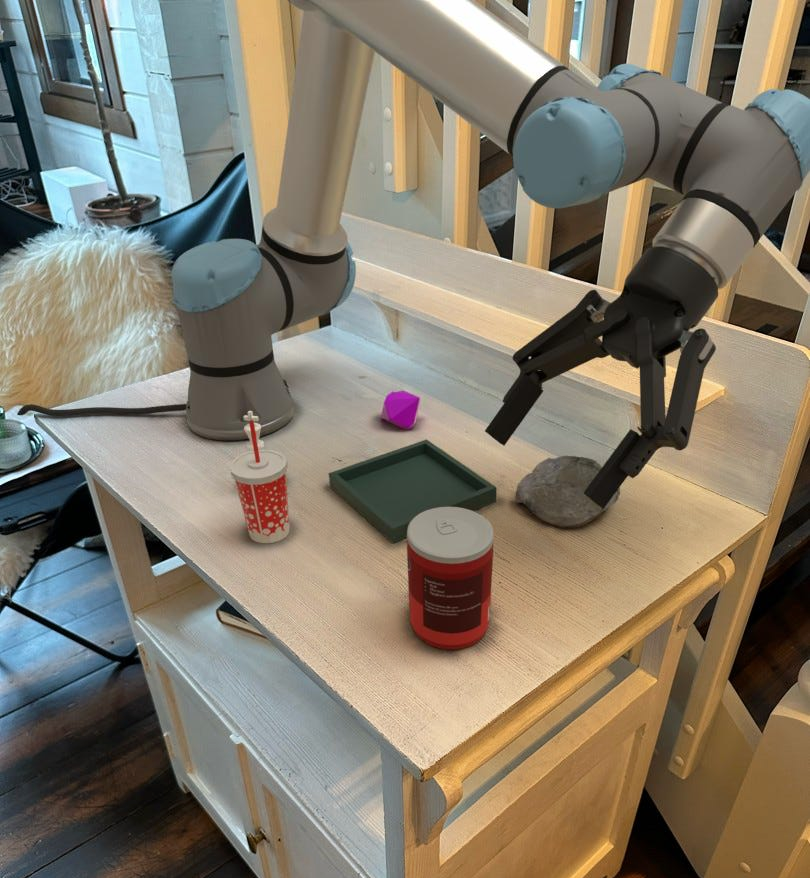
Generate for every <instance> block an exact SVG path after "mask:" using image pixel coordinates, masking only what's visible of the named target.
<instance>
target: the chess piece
mask: <svg viewBox="0 0 810 878" xmlns="http://www.w3.org/2000/svg"><path fill="white" fill-rule="evenodd" d="M244 420H247V421H250V420H253V421H258V420H259V418H258V416H253V411H248V416H247V415H245V416H244ZM254 426H255V432H256V438H257V445H258V450H261V449H262V448H264V447H265V443H264V441H263V440H262V439H260V437H261V436H260V431H261V425H260V424H258V423H254ZM244 430H245V432H246V434H247V435H248V438H249V439H248V440H249V441H247V442H246V448H247V450H250V451H254V448H253V442H252V436H251V430H250V424H247V425H246V426H245V427H244Z"/></svg>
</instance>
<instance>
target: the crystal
mask: <svg viewBox="0 0 810 878" xmlns="http://www.w3.org/2000/svg"><path fill="white" fill-rule="evenodd" d="M420 401H421V397H420V396H418V395H415V394H413V393H410V392H408V391H406V390H399V391H394V390H393V391H391V392H390V393H388V394H387V395H386V396H385V398H384V401H383V405H382V411H381V415H380V418H381V419H382V420H384V421H386V422H388V423H390V424H392V425H395V426H396V427H399V428H400V429H403V430H405V431H408V430H411V429H412V428H413V427H414V426H415V424H416V423H417V420H418V415H419V406H420Z"/></svg>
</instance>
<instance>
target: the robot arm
mask: <svg viewBox="0 0 810 878" xmlns="http://www.w3.org/2000/svg"><path fill="white" fill-rule="evenodd" d="M287 1H288V2H289V3H290V4H292V5H293V6H295V7H296V8H297V9H299V10H301V11H303V12H302V18H301V27H300V33H299V41H298V48H297V55H296V63H295V71H294V76H293V77H294V78H293V85H292V93H291V99H290V106H289V113H288V114H289V115H288V120H287V121H288V122H287V128H286V135H285V142H284V143H285V144H284V150H283V156H282V157H283V158H282V165H281V172H280V179H279V187H278V193H277V194H278V195H277V202H276V207H274V208H273V209H271V210H269V211H268V212H267V213H265V215H264V217H263V220H262V227H261V235H260V236H261V237H260V240H259V243H258V244H256V243H254V241H253V242H252V241H251V240H248V239H244V238H224V239H221V240H219V241H213V240H212V241H209V242H205V243H202V244H199V245H197V246H194V247H192V248H190V249H189V250H186V251H185V252H184V253H182V254H181V255H179V257H178V258H177V259H176V260H175V262H174V263H173V265H172V269H171V282H172V289H173V295H172V297H173V301H174V304H175V305H176V308H177V313H178V318H179V323H180V329H181V333H182V337H183V343H184V347H185V352H186V356H187V360H188V361H187V362H188V365H189V373H190V374H189V380H188V389H187V390H188V391H187V401H186V403H179V404H178V403H177V404H167V405H156V406H148V407H147V406H146V407H112V406H111V407H109V406H105V407H104V406H94V407H80V408H79V407H78V408H69V409H67V408H65V409H53V408H52V409H51V408H47V407H44V406H40V405H38V404H32V403H31V404H25V405H23V406H22V407H21V408H20V409H19V410H18V411H17V414H16V416H24V415H26V414H27V413H28V412H35V413H38V414H42V415H46V416H49V417H70V416H71V417H72V416H82V415H83V416H84V415H99V414H101V415H124V416H125V415H127V416H129V415H130V416H132V415H134V416H135V415H151V414H160V413H170V412H182V411H183V412H184V411H185V416H186V420H187V425H188V427H189V429H190V430H191V431H192V432H193V433H195V434H196V435H198V436H200V437H203V438H206V439H210V440H215V441H242V440H250V439H249V438H248V435H247V434H246V432H245V430H244V427H245V426H246V425H247V424H249V421H247V420H244V416H245V415H247V416H248V411H253V416H258V418H259V420H258V421H254V423H258V424H260V425H261V431H260V437H262V436H266V435H268V434H271V433H274V432H276V431H278V430H279V429H281V428H283V427H284V426H286V425H287V424H288V423H290V421H291V420H292V418H293V416H294V414H295V407H294V399H293V396H292V394H291V392H290V390H289V389H290V387H289V384H288V383H287V381H286V380H285V379H283V377H282V375H281V372H280V370H279V368H278V365H277V364H276V361H275V354H274V348H273V340H272V335H275V334H277V333H279V332H282V331H285V330H286V329H290V328H291V327H295V326H297V325H300V324H302V323H305V322H307V321H310V320H313V319H315V318H320V317H322V316H325V315H328V314H329V313H330V312H331V311H333V310H334V309H336V308H338V307H340V306H341V305H343V303H345V302H346V301H347V299H348V298H349V296H350V295H351V293H352V291H353V289H354V285H355V281H356V276H357V275H356V274H357V265H356V261H355V260H353V258H352V256H353V255H354V251H353V248H352V246H351V244H350V243H349V241H348V234H347V231H346V229H345V228H344V227H343V225H342V224H341V223H340V222H341V219H342V214H343V209H344V203H345V199H346V193H347V189H348V185H349V180H350V174H351V169H352V165H353V160H354V155H355V150H356V146H357V139H358V135H359V131H360V126H361V125H360V124H361V121H362V116H363V111H364V106H365V101H366V97H367V91H368V88H369V87H368V86H369V82H370V77H371V72H372V67H373V63H374V58H375V54H378V55H379V56H380V57H382V58H383V59H384V60H385V61H387V62H388V63H390V64H391V65H392V66H393V67H395V68H396V69H397V70H398V71H400V72H401V73H403V74H404V75H405V76H406V77H408V78H409V79H410V80H412V81H413V82H414V83H415V84H417V85H418V86H419V87H421V88H422V89H423V90H425V92H427V93H428V94H429V95H431V96H432V97H434V98H435V99H436V100H437V101H439V102H440V103H442V104H443V105H444V106H445V107H447V108H448V109H449V110H451V111H452V112H454V113H455V114H456V115H458V116H459V117H460V118H461V119H463V120H464V121H465V122H466V123H468V124H469V125H471V126H472V127H473V128H475V130H477V131H478V132H480V133H481V134H482V135H483V136H485V137H486V138H488V139H489V140H490V141H491V142H492V143H494V144H495V145H497V146H498V147H499V148H500V149H501V150H503V151H504V152H506V153H507V154H508V155H510V156H511V157H512V158H513V159H512V161H513V170H514V173H515V176H516V178H517V179H518V181H519V184H520V186H521V187H522V191H523V192H524V193H525V194H526V196H527V197H528V198H529V199H530V200H532V201H533V202H535V203H536V204H538V205H540V206H542V207H546V208H550V209H563V208H569V207H575V206H579V205H584V204H589V203H592V202H595V201H597V200H599V199H600V198H601V197H604V196H605V195H607V194H609V193H611V192H613V191H616V190H619V189H621V188H624V187H628V186H629V185H632V184H635V183H637V182H640V181H642V180H645V179H650V180H652V181H654V182H656V183H659V184H660V185H661V186H662V185H663V186H665V187H667V188H668V189H670V190H672V191H674V192H677V193H679V194H681V195H684V196H683V198H682V199H681V200H680V202H679V204H678V205H677V206H676V208H675V209H674V211H673V212H672V213H671V215H670V216H669V217H668V219H667V220H666V221H665V223H664V224H663V225H662V227H661V228H660V229H659V231H658V232H657V234H656V235H655V236H654V238H653V239H652V244H651V245H652V246H651V247H648V248H647V249H645V250H644V252H643V253H642V255H641V256H640V257H639V259H638V260H637V261H636V263H635V264H634V266H633V267H632V269H631V270H630V271H629V272H628V274H627V276H626V277H625V279H624V283H623V288H622V292H621V293H620V295H619V296H618V297H617V298H615V299H614V300H613V301H611V302H610V301H608V300H606V299H604V298H603V297H602V296H601V295H600V293H599V292H598V291H597V290H596V289H591V290H589V291H588V292H587V293H586V294H585V295H584V296H583V297H582V299H581V300H580V301H579V302H578V304H577V305H576V306H575V307H573V308H572V309H571V310H570V311H568V312H567V313H566V314H564V315H563V316H562V317H560V318H559V319H558V320H557V321H555V322H554V323H553V324H551V325H549V327H547V328H546V329H545V330H543V331H542V332H540V333H539V334H538V335H536V337H534V338H532V339H531V340H530V341H528V342H527V343H526V344H525V345H523V346H522V347H520V348H519V349H518V350H517V351H515V352H514V353H513V355H512V361H513V362H514V363H515V364H516V366H517V367H518V368H519V375H518V376H517V378H515V380H514V382H513V384H512V385H511V386H510V387H509V389H508V390H507V392H506V394H505V395H503V399H502V403H503V404H502V406H501V407H500V409H499V410H498V411H497V413H495V416H494V417H493V418H492V420H491V421H490V423H489V424H488V426H487V427H486V428H485V430H484V432H485V433H486V434H488V435H489V436H490V437H491V438H492V439H494V440H495V441H496V442H498V444H500V445H502V446H504V447H505V445H506V444H507V442H508V441H509V440H510V438H511V437H512V436H513V435H514V433H515V432H516V430H517V429H518V427H520V425H521V423H522V422H523V421H524V419H525V418H526V416H527V415H528V413H529V412H530V411H531V409H532V408H533V406H534V405H535V404H536V403H537V401H538V400H539V398H540V397H541V395H542V394H543V393H544V389H543V383H545V382H548V381H549V380H552V379H553V378H557V377H558V376H560V375H562V374H565V373H567V372H569V371H571V370H574V369H575V368H578V367H579V366H582V365H584V364H586V363H588V362H591V361H592V360H595V359H597V358H598V359H605V358H606V357H608V356H610V357H611V358H612V359H614V360H616V361H619V362H626V363H627V364H628V365H629V366H631V367H633V368H635V369H636V370H638V369H639V398H640V399H639V403H640V408H639V409H640V426H637V430H638V431H639V432H640V433H641V434H639V433H638V432H637V431H635V430H633V429H631V428H630V429H629V430H628V432H627V433H626V434H625V436H624V437H623V438H622V440H621V441H620V442H619V444H618V445H617V446H616V447H615V450H614V451H613V452H612V453H611V455H610V456H609V457H608V459H607V460H606V461H605V463H604V464H603V465H602V468H601V470H600V471H599V472H598V474H597V475H596V476H595V478H594V479H593V480H592V482H591V483H590V485H589V486H588V487H587V489H586V490H585V491H584V494H585V495H586V496H587V497H588V498H590V499H591V500H592V501H593V502H594V503H596V504H597V505H598V506H600V507H601V508H603V509H604V507H605V506H606V505H607V503H608V502H609V501H610V499H611V498H612V497H613V495H614V494H615V493H616V491H617V490H618V489H619V487H620V488H621V486H622V485H623V484H624V482H625V481H626V479H627V478H628V477H630V478H631V479H634V478H636V477H637V476H638V475H640V473H641V472H642V471H643V469H644V468H645V466H646V465H647V464H648V462H649V461H650V460H651V458H652V457H653V456H654V455H655V453H656V452H657V451H658V450H659V449H661V448H674V450H676V451H683V450H685V449H686V448H688V445H689V441H690V436H691V431H692V427H693V423H694V418H695V414H696V409H697V406H698V405H697V404H698V400H699V396H700V391H701V386H702V383H703V382H702V381H703V377H704V373H705V369H706V367H707V365H708V364H709V363H710V360H711V359H712V357H713V356H714V354H715V352H716V350H717V347H716V345H715V343H714V341H713V340H712V338H711V336H710V335H709V333H708V332H707V330H706V329H705V328H702V327H701V328H700V327H699V328H697V329H695V328H696V327H697V326H698V325H699V323H700V322H701V321H702V319H703V318H704V316H706V314H707V312H708V311H709V310H710V309H711V307H712V306H713V304H714V303H715V302H716V301H717V299H718V297H719V290H723V289H724V288H725V287H727V285H728V284H729V282H730V281H731V279H732V278H733V277H734V275H735V274H736V273H737V271H738V270H739V269H740V267H741V266H742V264H743V263H744V261H745V260H746V259H747V258H748V256H749V255H750V254H751V252H752V251H753V249H754V248H755V247H756V245H757V244H758V243H759V242H760V239H761V238H762V237H763V235H764V234H765V233H766V231H768V229H769V228H770V227H771V225H772V224H773V222H774V221H775V220H776V219H777V217H778V216H779V214H780V213H781V212H782V210H784V208H785V207H786V205H787V204H788V203H789V202H790V201H791V199H792V197H793V196H794V195H795V194H796V193H797V191H799V190H800V189H801V187H802V186H803V184H804V183H803V182H804V181H805V179H806V177H807V176H808V174H809V173H810V98H809V97H807V96H805V95H804V94H803V93H800V92H798V91H795V90H792V89H786V88H785V89H783V90H779V89H777V88H770V89H767V90H765V91H762V92H761V93H759V94H757V95H756V96H755V98H754V99H753V100H752V101H751V102H749V103H748V104H747V105H746V106H745V108H744V109H741V108H739V107H738V106H735V105H732V104H730V105H729V104H726V103H724V102H721V101H719V100H717V99H715V98H712V97H710V96H708V95H706V94H704V93H702V92H699V91H697V90H695V89H692V88H691V87H688V86H686V85H684V84H682V83H679V82H677V81H675V80H672V79H671V78H668V77H666V76H665V75H663V74H662V73H661V72H659V71H657V70H654V69H650V70H648V69H647V68H646V69H645V68H643V67H640V66H637V65H634V64H631V63H623V64H622V63H621V64H619V65H617V66H615V67H614V68H612V69H611V71H610V72H609V74H608V75H605V76H604V77H603V78H602V80H601V81H600V82H599V83H598V85H597V86H596V87H595V86H594V85H592V84H591V83H589V82H588V81H587V80H586V79H584V78H583V77H581V76H580V75H578V74H577V73H576V72H574V71H572V70H571V69H570V68H568V67H566V65H565V64H564V63H562V62H561V61H560V60H558V59H556V58H555V57H554V56H552V55H551V54H550V53H548V52H547V51H545V50H544V49H542V47H540V46H538V45H537V44H536V43H534V42H533V41H532V40H530V39H529V38H528V37H526V36H524V34H522V33H520V32H519V31H517V29H515V28H514V27H512V26H511V25H510V24H508V23H507V22H505V21H504V20H502V19H501V18H499V17H498V16H496V15H495V14H494V13H492V12H491V11H490V10H488V9H487V8H485V6H483V5H482V4H480V3H478V2H477V1H476V0H287ZM692 329H695V330H694V331H690V330H692ZM600 338H601V339H600ZM678 350H679V352H680V355H679V358H678V363H677V367H676V371H675V377H674V381H673V385H672V388H671V394H670V398H669V402H668V407H667V411H666V390H665V378H666V377H667V365H666V362H667V361H666V356H668V355H670V354H672V353H674V352H675V351H678Z"/></svg>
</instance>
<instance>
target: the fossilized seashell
mask: <svg viewBox="0 0 810 878" xmlns="http://www.w3.org/2000/svg"><path fill="white" fill-rule="evenodd" d="M602 467H603V465H601V464H600V463H598V461H597V460H594V459H592V458H589V457H583V456H576V455H560V456H559V457H554V458H551V457H547V458H546V459H544V460H542V461H540V462H539V463H538V464H536V466H535V467H534V468H533V470H532V471H531V472H530V473H527V474H526V475H525V476H524V477H522V479H521V480H520V482H518V483H517V486H516V491H515V497H514V499H515V503H517V504H523V505H524V506H526V507H527V509H528V510H529V511H531V513H532V514H533V515H534V516H535V517H536V518H538V520H540V521H543V522H545V523H547V524H550V525H553V526H555V527H558V528H563V529H571V528H572V529H573V528H577V527H582V526H584V525H586V524H588V523H589V522H591V521H593V520H595V518H596V517H598V516H599V515H600V514H601V513H602V512H604V511H607V510H608V509H610V508H611V507H612V506H613V505H615V503H616V502H617V501H618V500H619V496H620V494H621V486H620V487H619V489H618V490H617V491H616V493H615V494H614V495H613V497H612V498H611V499H610V501H609V502H608V503H607V505H606V506H605V507H604V509H603V508H601V507H600V506H598V505H597V504H596V503H594V502H593V501H592V500H591V499H590V498H588V497H587V496H586V495H585V494H584V491H585V490H586V489H587V487H588V486H589V485H590V483H591V482H592V480H593V479H594V478H595V476H596V475H597V474H598V472H599V471H600V470H601V468H602Z"/></svg>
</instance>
